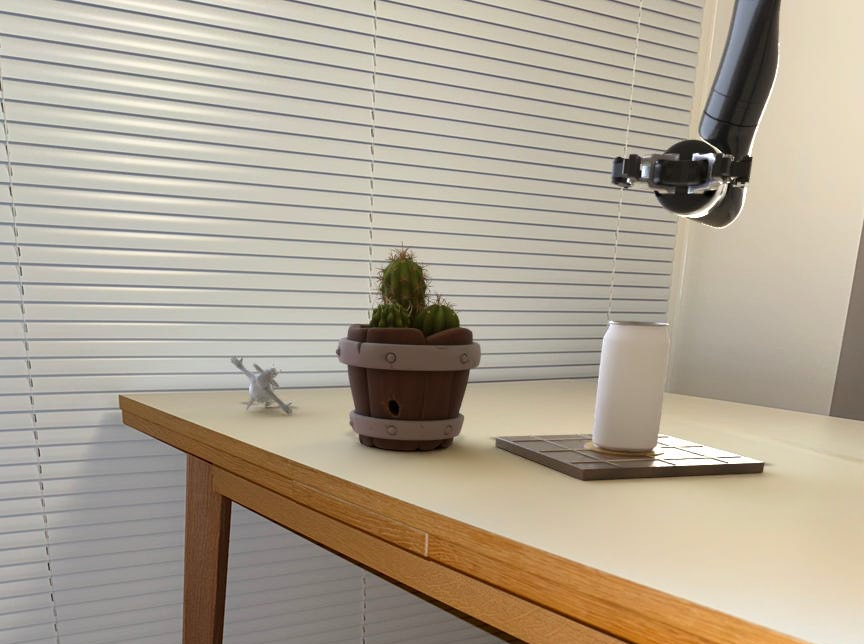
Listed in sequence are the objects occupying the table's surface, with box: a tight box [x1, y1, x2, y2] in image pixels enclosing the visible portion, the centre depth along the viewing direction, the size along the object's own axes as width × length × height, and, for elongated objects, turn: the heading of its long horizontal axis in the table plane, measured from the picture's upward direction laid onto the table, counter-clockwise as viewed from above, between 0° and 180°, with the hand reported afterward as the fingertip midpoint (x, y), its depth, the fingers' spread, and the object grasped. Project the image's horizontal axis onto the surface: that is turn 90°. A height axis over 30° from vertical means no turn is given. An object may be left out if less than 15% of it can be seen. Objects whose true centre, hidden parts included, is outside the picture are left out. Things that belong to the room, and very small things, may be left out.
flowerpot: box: [335, 242, 482, 451], centre depth 98 cm, size 14×15×20 cm
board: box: [494, 433, 765, 481], centre depth 97 cm, size 20×18×1 cm
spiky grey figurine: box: [230, 355, 294, 415], centre depth 121 cm, size 10×6×9 cm
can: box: [591, 320, 671, 452], centre depth 95 cm, size 6×6×12 cm
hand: (674, 165), depth 97 cm, fingers open, 8 cm apart
